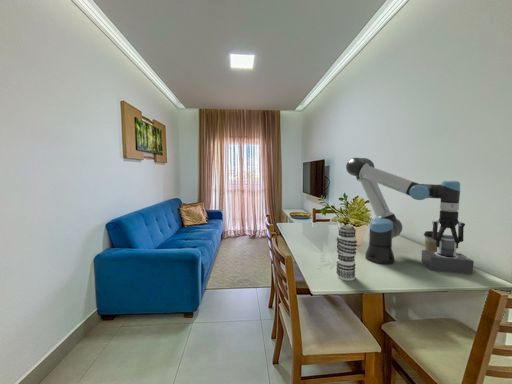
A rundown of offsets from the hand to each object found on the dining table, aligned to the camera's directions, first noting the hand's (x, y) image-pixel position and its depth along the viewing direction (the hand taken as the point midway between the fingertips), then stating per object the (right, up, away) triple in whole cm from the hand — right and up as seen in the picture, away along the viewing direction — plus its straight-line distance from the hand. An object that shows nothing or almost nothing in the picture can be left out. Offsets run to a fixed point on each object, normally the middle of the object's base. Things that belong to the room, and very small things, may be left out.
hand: (446, 253), depth 123 cm
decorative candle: (-57, -9, -10) cm, 59 cm away
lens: (0, 0, 0) cm, 0 cm away
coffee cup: (+5, -7, +16) cm, 18 cm away
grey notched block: (0, -8, +1) cm, 8 cm away
